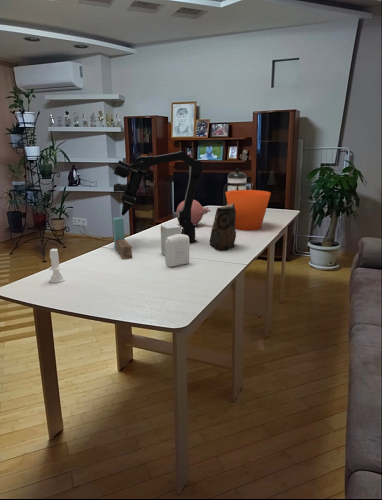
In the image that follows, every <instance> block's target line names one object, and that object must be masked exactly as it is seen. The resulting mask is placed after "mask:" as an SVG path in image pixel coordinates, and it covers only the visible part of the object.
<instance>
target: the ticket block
mask: <svg viewBox="0 0 382 500" xmlns="http://www.w3.org/2000/svg"><path fill="white" fill-rule="evenodd" d="M115 251H116V252H117V254H118V255H119V256H120V257H121V258H122V260H127V259H133V246H132V245H131V244H130V243H129V242H128V241H127V240H126V239H125V238H124V239H120V240H116V249H115Z"/></svg>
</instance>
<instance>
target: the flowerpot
mask: <svg viewBox="0 0 382 500" xmlns="http://www.w3.org/2000/svg"><path fill="white" fill-rule="evenodd" d="M225 193H226V204H227V203H228V205H231V204H235V205H234V207H235V210H236V220H235V227H236V231H237V230H238V231H243V232H244V231H247V232H249V231H258V230H261V229H262V227H263V221H264V219H265V215H266V212H267V209H268V204H269V200H270V197H271V194H272V192H270V191H267V190H257V189H246V190H232V191H227V190H226V192H225Z"/></svg>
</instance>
